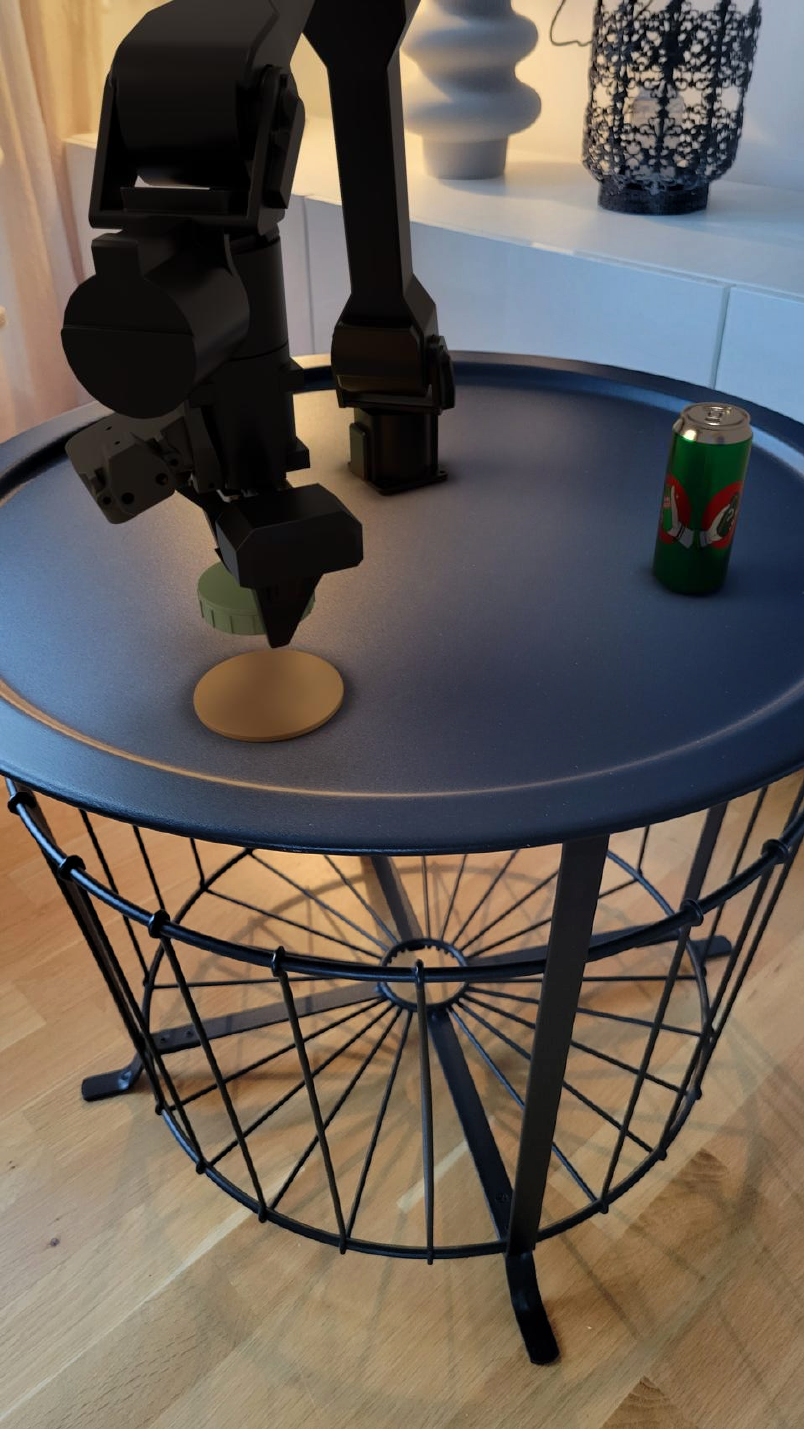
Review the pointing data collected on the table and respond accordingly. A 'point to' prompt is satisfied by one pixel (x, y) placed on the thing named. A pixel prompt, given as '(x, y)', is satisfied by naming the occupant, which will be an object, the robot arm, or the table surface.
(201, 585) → the lid
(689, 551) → the soda can
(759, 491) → the table surface
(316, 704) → the coaster
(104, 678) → the table surface
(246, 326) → the robot arm
